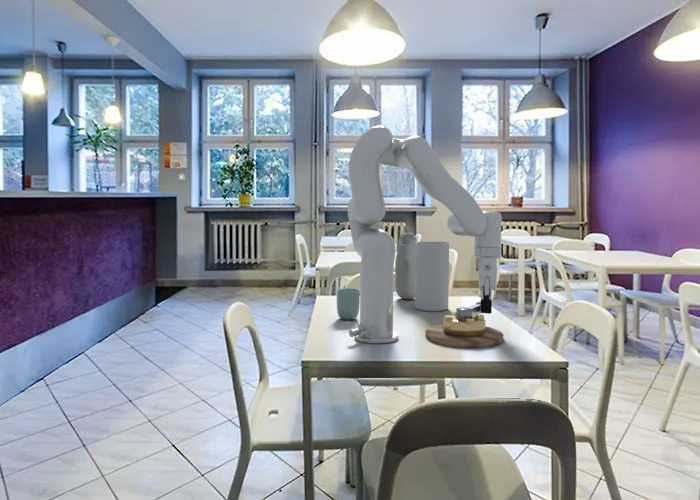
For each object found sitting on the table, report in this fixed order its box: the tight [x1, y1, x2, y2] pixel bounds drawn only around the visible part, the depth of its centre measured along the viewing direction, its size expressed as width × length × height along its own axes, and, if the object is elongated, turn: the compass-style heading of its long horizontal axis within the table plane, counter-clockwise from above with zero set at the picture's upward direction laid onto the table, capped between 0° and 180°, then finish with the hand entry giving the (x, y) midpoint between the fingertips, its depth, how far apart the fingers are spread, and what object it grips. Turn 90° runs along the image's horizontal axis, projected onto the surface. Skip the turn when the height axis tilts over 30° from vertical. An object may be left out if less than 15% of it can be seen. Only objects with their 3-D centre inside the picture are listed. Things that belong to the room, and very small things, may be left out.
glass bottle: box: [394, 231, 418, 300], centre depth 196 cm, size 10×10×28 cm
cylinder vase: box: [414, 241, 450, 312], centre depth 177 cm, size 12×12×25 cm
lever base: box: [425, 323, 504, 349], centre depth 137 cm, size 22×22×2 cm
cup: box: [336, 287, 360, 321], centre depth 161 cm, size 8×8×10 cm
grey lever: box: [442, 301, 486, 337], centre depth 140 cm, size 20×12×7 cm, turn 142°
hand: (485, 312), depth 143 cm, fingers closed
